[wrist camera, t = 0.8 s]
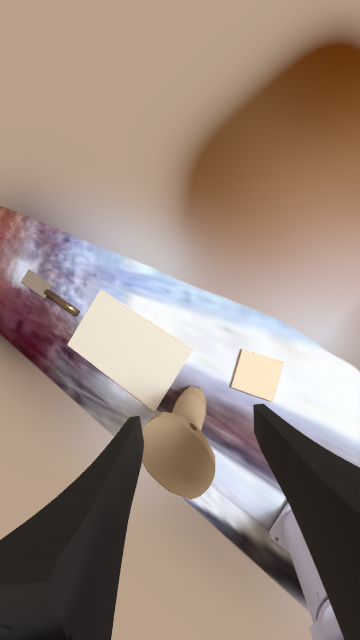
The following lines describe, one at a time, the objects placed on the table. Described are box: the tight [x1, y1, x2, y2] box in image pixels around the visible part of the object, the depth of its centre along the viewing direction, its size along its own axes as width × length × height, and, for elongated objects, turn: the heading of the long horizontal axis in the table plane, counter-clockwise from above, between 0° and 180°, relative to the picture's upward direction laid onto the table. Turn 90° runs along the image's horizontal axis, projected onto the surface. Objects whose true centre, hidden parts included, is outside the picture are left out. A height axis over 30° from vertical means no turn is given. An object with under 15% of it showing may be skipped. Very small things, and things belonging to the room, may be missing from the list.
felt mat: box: [68, 289, 193, 412], centre depth 32 cm, size 20×12×1 cm, turn 58°
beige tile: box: [231, 349, 284, 402], centre depth 28 cm, size 6×6×1 cm
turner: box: [21, 269, 80, 316], centre depth 35 cm, size 15×3×1 cm, turn 58°
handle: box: [142, 386, 215, 499], centre depth 22 cm, size 5×6×15 cm
